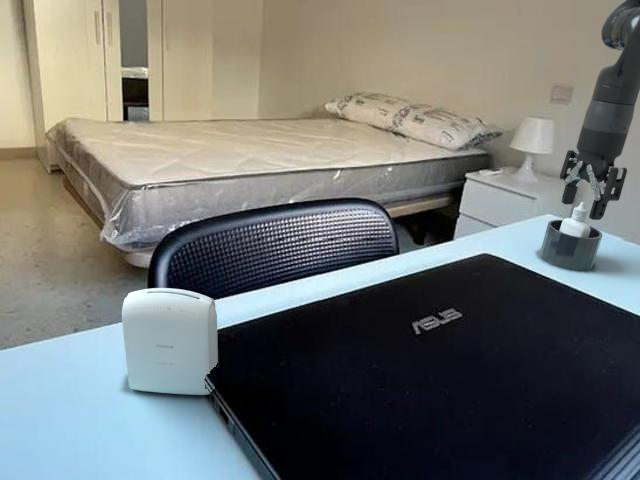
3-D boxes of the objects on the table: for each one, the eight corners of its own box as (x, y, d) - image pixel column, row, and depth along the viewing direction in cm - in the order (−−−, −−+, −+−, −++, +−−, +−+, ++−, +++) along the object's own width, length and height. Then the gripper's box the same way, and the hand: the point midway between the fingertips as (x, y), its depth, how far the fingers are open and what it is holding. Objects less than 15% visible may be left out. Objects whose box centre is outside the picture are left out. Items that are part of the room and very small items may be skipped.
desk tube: (571, 250, 106) (581, 220, 103) (602, 271, 97) (613, 239, 95) (529, 250, 104) (538, 219, 102) (557, 272, 96) (567, 238, 93)
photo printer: (122, 392, 56) (113, 297, 51) (136, 368, 60) (129, 277, 55) (213, 400, 56) (212, 305, 51) (221, 376, 60) (221, 285, 55)
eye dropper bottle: (558, 262, 98) (575, 205, 94) (551, 251, 103) (567, 196, 99) (581, 266, 98) (600, 208, 93) (573, 254, 103) (590, 199, 98)
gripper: (653, 136, 85) (623, 225, 91) (597, 120, 97) (574, 199, 104) (614, 134, 83) (586, 224, 90) (563, 118, 96) (542, 198, 102)
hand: (580, 211), depth 97 cm, fingers open, 8 cm apart
